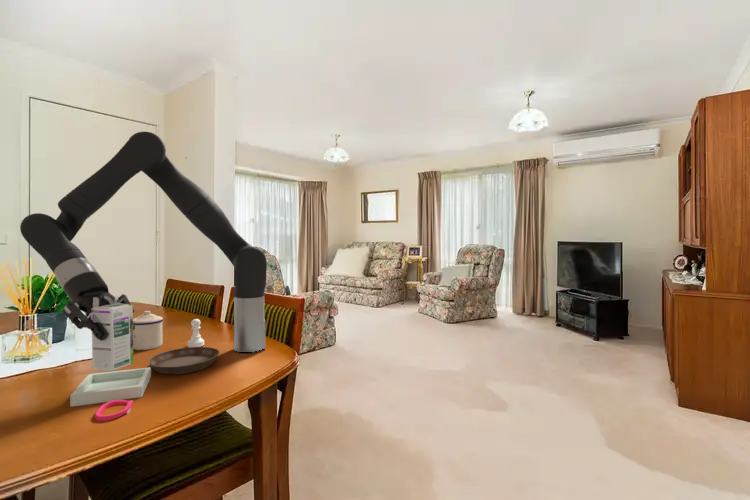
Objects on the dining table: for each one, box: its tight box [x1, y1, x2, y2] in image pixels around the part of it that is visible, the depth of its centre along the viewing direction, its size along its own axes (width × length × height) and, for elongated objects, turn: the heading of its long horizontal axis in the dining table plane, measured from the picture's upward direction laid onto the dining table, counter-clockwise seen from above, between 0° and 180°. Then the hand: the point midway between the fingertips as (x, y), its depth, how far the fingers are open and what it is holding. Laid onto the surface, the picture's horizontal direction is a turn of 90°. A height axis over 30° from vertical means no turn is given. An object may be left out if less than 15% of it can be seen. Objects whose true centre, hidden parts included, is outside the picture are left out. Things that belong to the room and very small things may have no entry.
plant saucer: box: [148, 346, 220, 375], centre depth 105 cm, size 18×18×3 cm
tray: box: [69, 366, 152, 408], centre depth 87 cm, size 13×13×2 cm
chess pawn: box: [187, 318, 205, 348], centre depth 123 cm, size 5×5×9 cm
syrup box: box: [91, 303, 135, 372], centre depth 87 cm, size 6×6×14 cm
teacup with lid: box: [133, 310, 164, 351], centre depth 121 cm, size 12×9×12 cm
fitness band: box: [94, 399, 134, 422], centre depth 77 cm, size 8×6×2 cm
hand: (118, 334), depth 86 cm, fingers closed on syrup box, 6 cm apart
